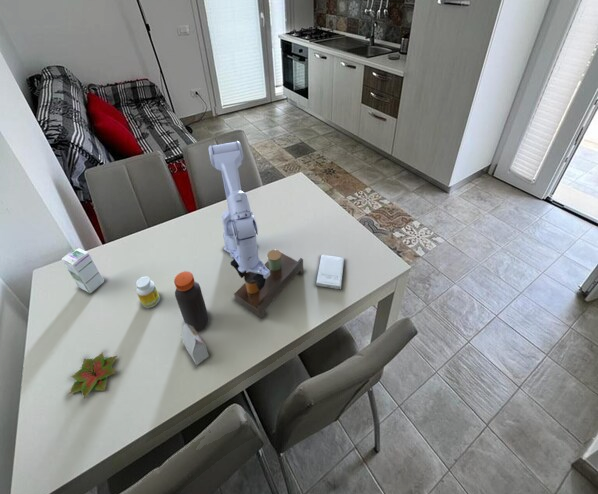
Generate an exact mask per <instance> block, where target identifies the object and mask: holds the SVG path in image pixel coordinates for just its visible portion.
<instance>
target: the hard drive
mask: <svg viewBox="0 0 598 494" xmlns="http://www.w3.org/2000/svg"><path fill="white" fill-rule="evenodd" d="M344 265H345V257H340V256H334V255H327V254H321V256H320V261H319V266H318V272H317V277H316V283H315V286H318V287H322V288H329V289H335V290H341V289H342V281H343V273H344Z"/></svg>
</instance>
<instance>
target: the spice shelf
mask: <svg viewBox="0 0 598 494" xmlns="http://www.w3.org/2000/svg"><path fill="white" fill-rule="evenodd" d="M263 264H264V265H265V266H266V267H267V268H269V264H268V260H267V261H266V262H265V263H263ZM281 264H282V266H281V268H280V269H279V270H278V271H272V270H270V276H269V277H268V278H267V279H266V281H265V285H264V287H263V288H262V289H261V290H259V291H258V292H257V293H254V294H250V293H248V292H247V290H246V284H245V283H244V284H242V285H241V286H240V288H238V289H237V290H236V291H235V292H234V293H233V294H234V299H235V301H236V302H237V303H239V304H240V305H242V306H243V307H244V308H246V309H247V310H248V311H250V312H252V313H253V314H255V315H256V316H257V317H258V318H259V319H262V318H263V317H264V316H265V314H266V313H265V310H266V309H267V308H268V306H270V305H271V303H272V302H273V301H274V300H275V299H276V298H277V297H278V295H279V294H281V292H283V290H284V289H285V288H286V287H287V286H288V284H290V282H291V281H292V280H293V279H294V278H295V277H296V276H297V274H298V275H302V274H303V272H304V258H302V257H300V258H299V259H298V260H296V259H294V258H293V257H290V256H288V255H286V254H284V253H283V252H281Z"/></svg>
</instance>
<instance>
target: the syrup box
mask: <svg viewBox="0 0 598 494" xmlns="http://www.w3.org/2000/svg"><path fill="white" fill-rule="evenodd" d="M61 261H62V263H63V264H64V266H65V268H66V269H67V271H68V272H69V274H70V275H71V277H72V279H73V280H74V281H75V284H76V285H77V286H78V288H79V289H80V290H83V291H84V292H87V293H88V294H92V293H93V292H95V291H96V290H97V289H98V288H99V287H100V286H101V285H103V284H104V283H105V279H104V277H103V275H102V274H101V272H100V270H99V268H98V267H97V265H96V263H95V261H94V259H93V258H92V256H91V254H90V252H88V251H86V250H84V249H81V248H80V247H77V246H76V247H75V248H74V249H72V250H71V251H69V252H68V253H67V254H66V255H64V256H63V257H62V258H61Z"/></svg>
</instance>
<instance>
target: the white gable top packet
mask: <svg viewBox="0 0 598 494" xmlns="http://www.w3.org/2000/svg"><path fill="white" fill-rule="evenodd" d="M180 336H181V340H182V342H183V345H184V347H185V349H186V350H187V352H188V354H189V355H190V357H191V359H192V360H193V362H194V363H195V365H196V366H198V365H199V364H201V362H203V361H204V360H206V359H207V358H208V357H209V356H210V355H209V353H208V349H207V345H206V343H205V342H204V340H203V339H202V338H201V336H200V334H199V333H198V331H196V330H195V328H194V327H193V326H191V325H188V324H187V323H186V322H183V326H182V330H181V333H180Z"/></svg>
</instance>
